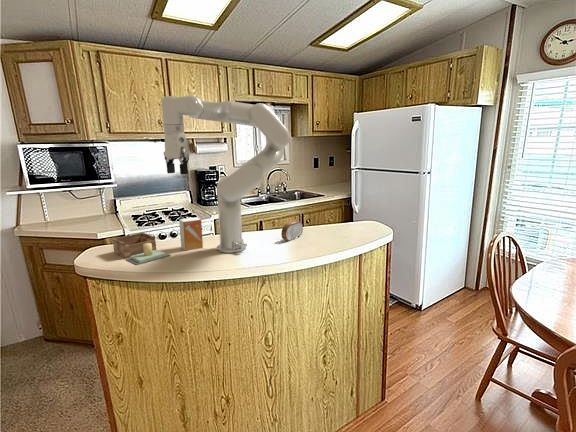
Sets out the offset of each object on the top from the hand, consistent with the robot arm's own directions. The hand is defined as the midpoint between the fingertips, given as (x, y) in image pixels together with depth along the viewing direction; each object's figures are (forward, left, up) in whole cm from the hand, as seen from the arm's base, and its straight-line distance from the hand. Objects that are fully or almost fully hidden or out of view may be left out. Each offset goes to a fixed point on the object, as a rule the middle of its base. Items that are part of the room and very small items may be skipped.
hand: (177, 173), depth 129 cm
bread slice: (-23, -45, -34) cm, 61 cm away
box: (+16, +13, -33) cm, 39 cm away
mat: (+5, +13, -33) cm, 36 cm away
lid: (+5, +13, -33) cm, 36 cm away
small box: (+3, -6, -34) cm, 34 cm away
